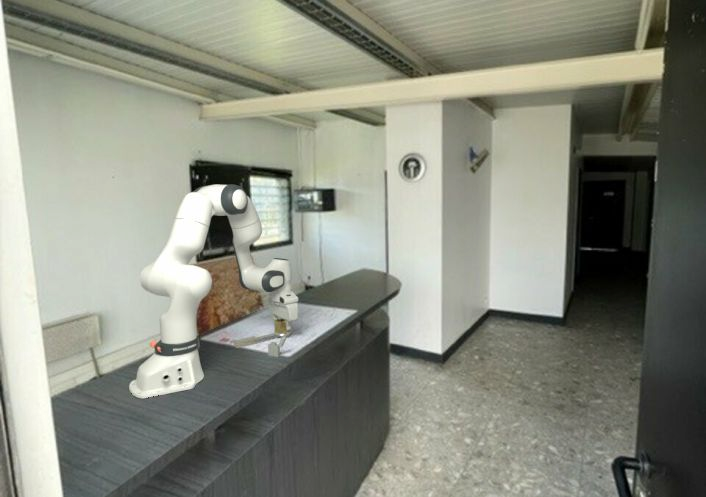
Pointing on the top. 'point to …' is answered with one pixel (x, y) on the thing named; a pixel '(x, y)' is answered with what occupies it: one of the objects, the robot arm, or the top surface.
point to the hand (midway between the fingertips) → (282, 326)
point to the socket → (280, 326)
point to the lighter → (275, 347)
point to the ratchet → (258, 339)
